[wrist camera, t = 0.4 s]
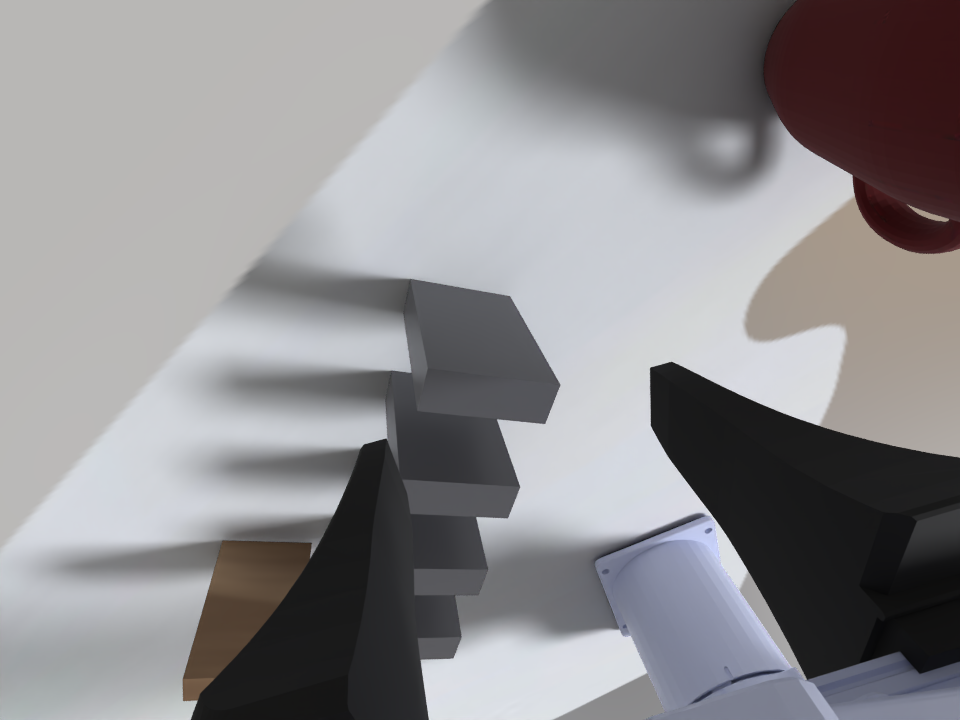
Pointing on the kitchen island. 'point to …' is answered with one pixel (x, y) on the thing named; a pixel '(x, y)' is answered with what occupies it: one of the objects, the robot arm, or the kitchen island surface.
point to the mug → (878, 106)
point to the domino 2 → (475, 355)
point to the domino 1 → (240, 604)
